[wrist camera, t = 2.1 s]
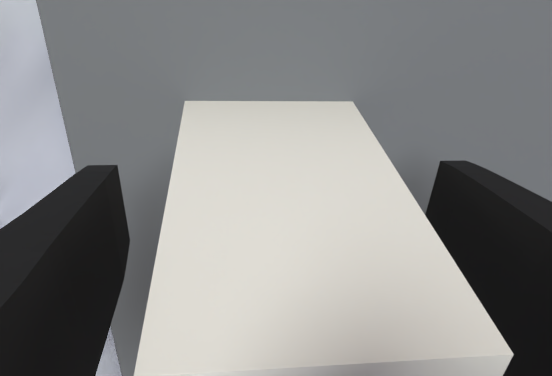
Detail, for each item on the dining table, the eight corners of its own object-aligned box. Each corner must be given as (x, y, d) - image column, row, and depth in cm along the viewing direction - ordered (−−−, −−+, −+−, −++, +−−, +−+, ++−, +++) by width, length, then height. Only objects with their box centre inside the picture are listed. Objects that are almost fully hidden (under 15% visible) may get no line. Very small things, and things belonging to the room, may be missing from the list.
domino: (184, 101, 13) (133, 377, 6) (352, 101, 14) (514, 354, 6) (188, 146, 14) (147, 442, 6) (346, 145, 14) (481, 417, 7)
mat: (733, -6, 14) (753, -3, 13) (460, 487, 30) (464, 497, 30) (38, -30, 11) (29, -27, 11) (157, 515, 28) (156, 526, 28)
